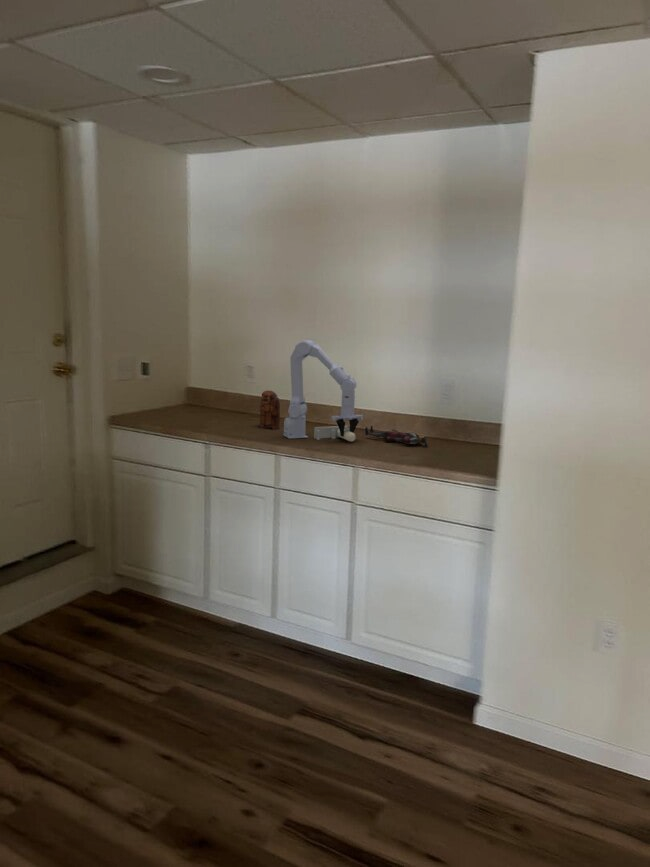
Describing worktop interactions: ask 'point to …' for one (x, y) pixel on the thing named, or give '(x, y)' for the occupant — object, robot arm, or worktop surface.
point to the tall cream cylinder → (347, 435)
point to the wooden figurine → (269, 410)
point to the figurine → (398, 436)
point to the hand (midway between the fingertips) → (346, 435)
